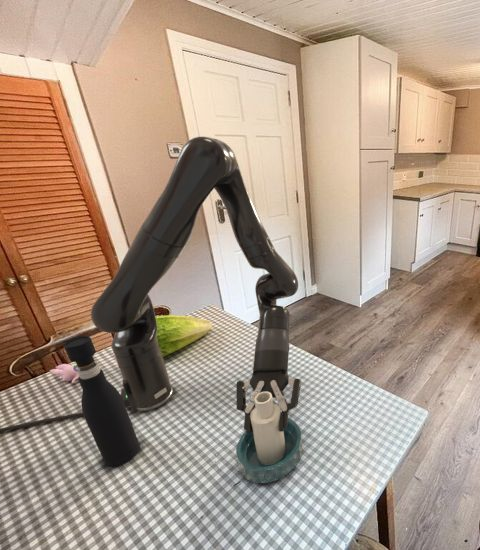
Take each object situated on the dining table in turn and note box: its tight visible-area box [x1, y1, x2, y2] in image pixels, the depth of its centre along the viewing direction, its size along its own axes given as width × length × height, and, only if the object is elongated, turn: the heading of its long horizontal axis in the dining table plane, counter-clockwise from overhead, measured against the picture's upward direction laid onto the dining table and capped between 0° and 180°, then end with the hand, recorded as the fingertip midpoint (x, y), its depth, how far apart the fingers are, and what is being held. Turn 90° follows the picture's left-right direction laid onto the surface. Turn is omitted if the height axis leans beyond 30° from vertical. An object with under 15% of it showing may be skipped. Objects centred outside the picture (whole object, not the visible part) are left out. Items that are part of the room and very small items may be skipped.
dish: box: [235, 417, 303, 484], centre depth 67 cm, size 14×14×4 cm
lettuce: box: [155, 314, 213, 358], centre depth 106 cm, size 14×23×14 cm
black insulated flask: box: [63, 335, 141, 468], centre depth 63 cm, size 6×6×30 cm
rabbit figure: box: [49, 363, 79, 384], centre depth 90 cm, size 6×6×15 cm
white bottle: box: [250, 391, 286, 465], centre depth 65 cm, size 6×6×16 cm
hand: (265, 431), depth 63 cm, fingers closed on white bottle, 6 cm apart
